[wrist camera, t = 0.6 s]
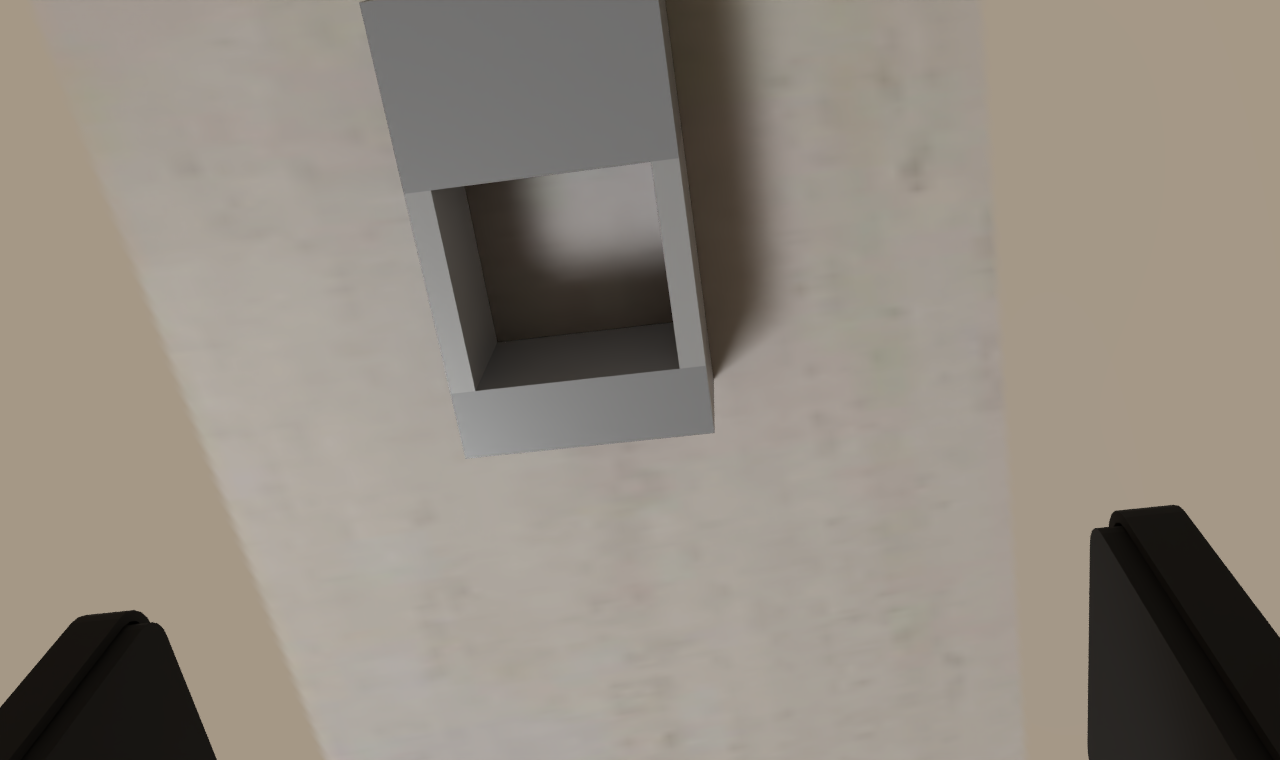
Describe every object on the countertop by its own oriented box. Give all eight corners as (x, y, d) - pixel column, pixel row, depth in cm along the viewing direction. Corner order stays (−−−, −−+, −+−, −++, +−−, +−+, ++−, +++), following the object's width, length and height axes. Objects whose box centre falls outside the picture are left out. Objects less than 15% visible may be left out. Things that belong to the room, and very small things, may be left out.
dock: (396, -11, 34) (359, 2, 30) (658, -50, 33) (652, -42, 29) (487, 404, 39) (465, 458, 35) (713, 380, 38) (714, 432, 35)
